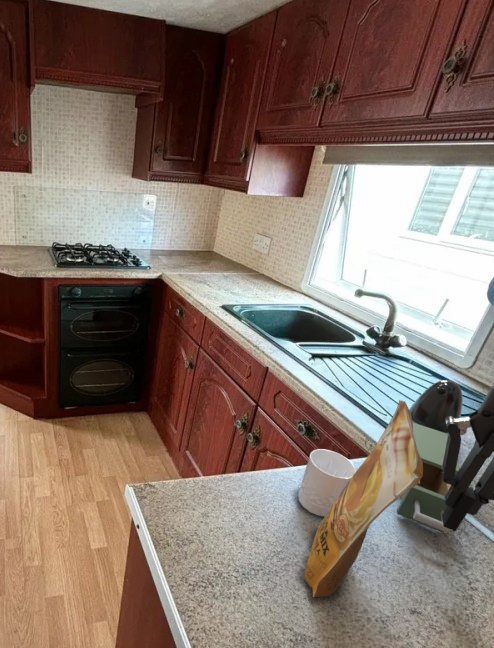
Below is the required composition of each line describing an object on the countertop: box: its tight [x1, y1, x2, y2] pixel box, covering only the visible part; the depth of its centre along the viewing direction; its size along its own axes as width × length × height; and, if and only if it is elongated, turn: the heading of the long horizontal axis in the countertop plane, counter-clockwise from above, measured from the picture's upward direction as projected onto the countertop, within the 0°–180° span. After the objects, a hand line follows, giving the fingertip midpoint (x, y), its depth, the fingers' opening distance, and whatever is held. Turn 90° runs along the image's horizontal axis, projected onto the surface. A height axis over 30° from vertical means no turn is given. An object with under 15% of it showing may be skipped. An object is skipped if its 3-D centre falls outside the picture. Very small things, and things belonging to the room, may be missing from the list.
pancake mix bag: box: [303, 399, 423, 598], centre depth 60 cm, size 7×19×28 cm, turn 145°
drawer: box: [396, 462, 451, 534], centre depth 76 cm, size 18×7×7 cm, turn 148°
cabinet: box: [413, 423, 461, 474], centre depth 86 cm, size 15×9×9 cm, turn 148°
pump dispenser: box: [409, 379, 464, 434], centre depth 101 cm, size 10×10×15 cm
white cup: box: [297, 448, 358, 517], centre depth 76 cm, size 8×8×10 cm
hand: (448, 523), depth 62 cm, fingers closed
